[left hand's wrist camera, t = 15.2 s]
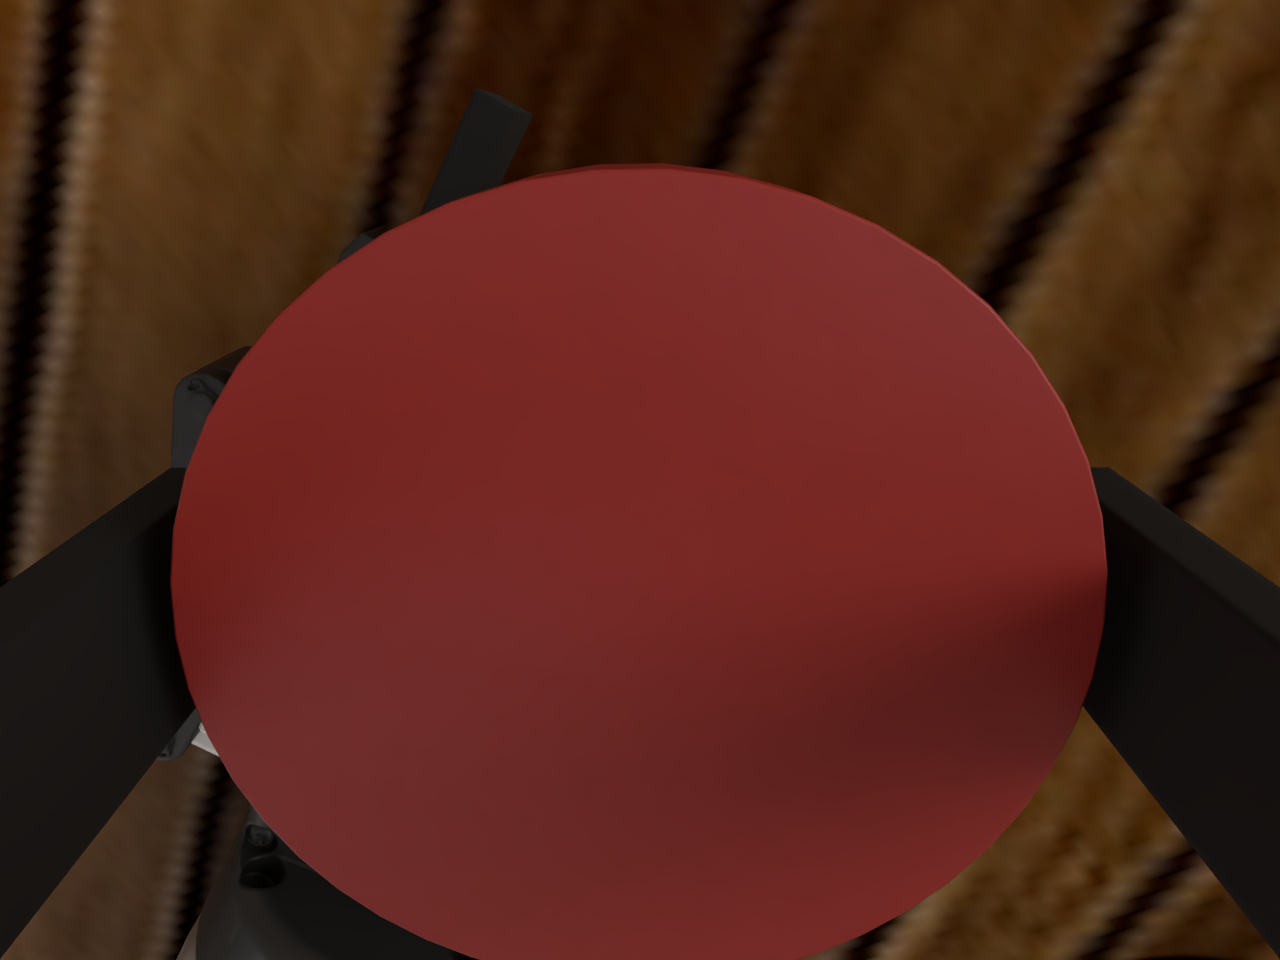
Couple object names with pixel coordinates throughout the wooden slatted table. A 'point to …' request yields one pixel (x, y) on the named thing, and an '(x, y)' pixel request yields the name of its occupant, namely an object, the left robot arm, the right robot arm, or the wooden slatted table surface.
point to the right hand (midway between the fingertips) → (744, 241)
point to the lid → (638, 571)
